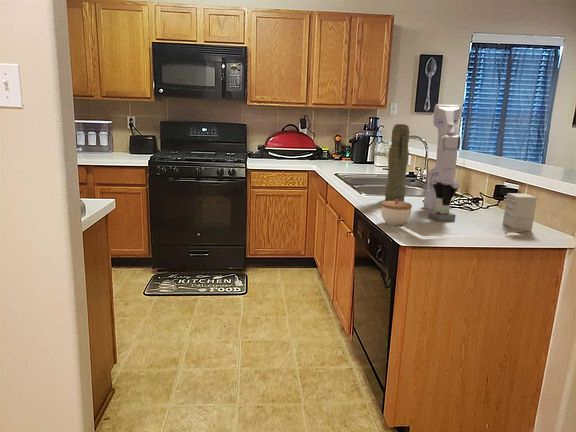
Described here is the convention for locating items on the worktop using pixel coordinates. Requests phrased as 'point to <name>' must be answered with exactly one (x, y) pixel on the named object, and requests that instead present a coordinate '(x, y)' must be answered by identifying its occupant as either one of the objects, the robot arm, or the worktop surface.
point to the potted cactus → (397, 163)
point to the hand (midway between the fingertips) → (443, 204)
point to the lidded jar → (395, 212)
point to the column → (441, 206)
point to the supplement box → (519, 211)
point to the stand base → (441, 216)
